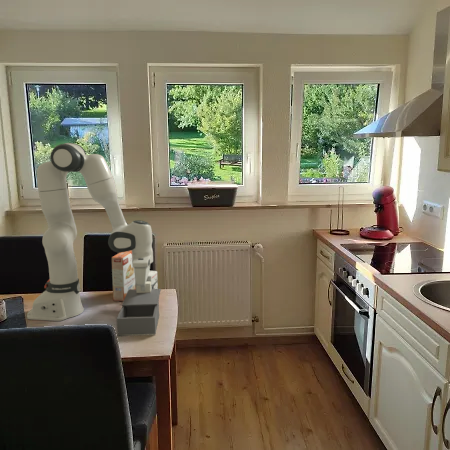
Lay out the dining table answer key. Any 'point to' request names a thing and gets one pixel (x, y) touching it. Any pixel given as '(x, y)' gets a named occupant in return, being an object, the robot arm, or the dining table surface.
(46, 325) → the dining table surface
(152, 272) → the ink box
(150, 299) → the lid
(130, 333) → the base
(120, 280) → the cracker box
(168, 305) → the dining table surface
